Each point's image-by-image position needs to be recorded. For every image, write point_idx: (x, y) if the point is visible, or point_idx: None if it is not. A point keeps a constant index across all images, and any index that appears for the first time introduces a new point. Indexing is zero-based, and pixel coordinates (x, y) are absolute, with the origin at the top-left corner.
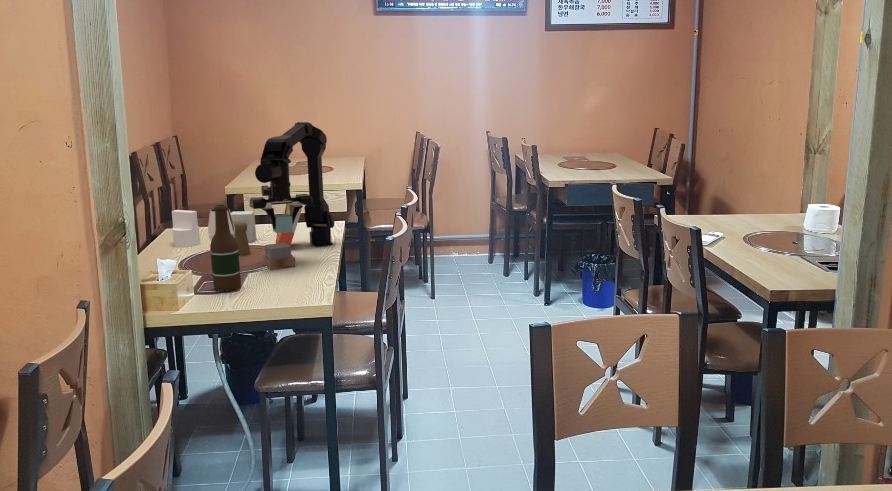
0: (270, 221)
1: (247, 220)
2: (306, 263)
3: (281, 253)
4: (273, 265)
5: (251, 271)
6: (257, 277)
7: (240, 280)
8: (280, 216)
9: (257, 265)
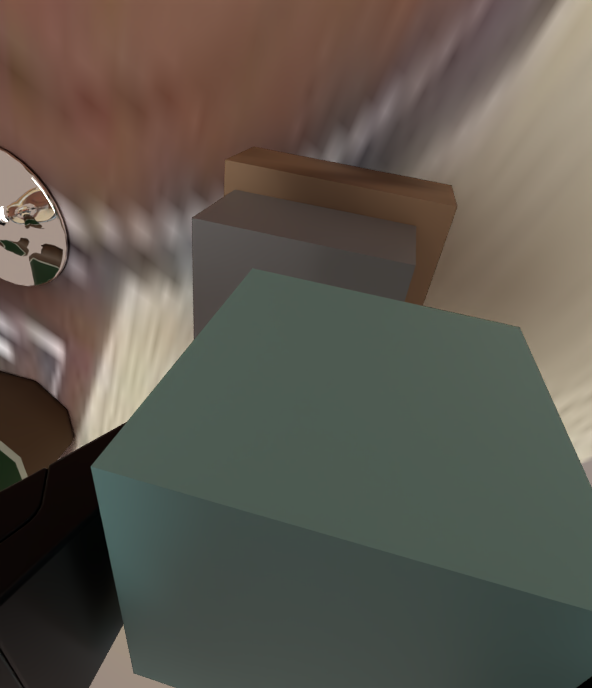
0: (106, 446)
1: None
2: (509, 323)
3: None
4: None
5: (142, 256)
6: (152, 374)
7: (56, 460)
8: (242, 668)
9: (206, 132)
